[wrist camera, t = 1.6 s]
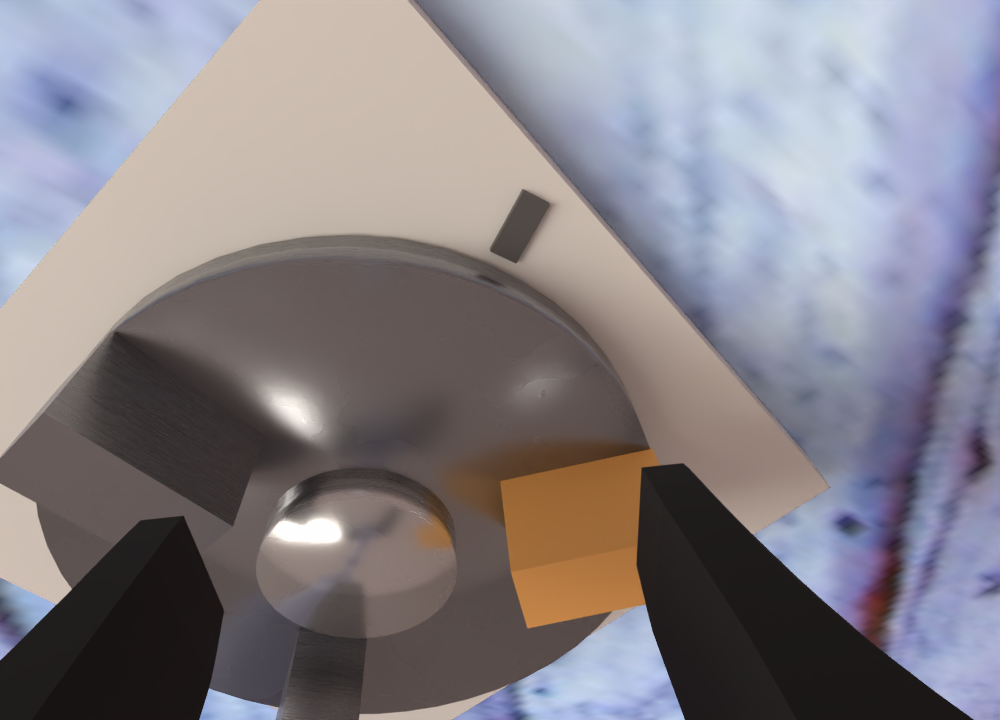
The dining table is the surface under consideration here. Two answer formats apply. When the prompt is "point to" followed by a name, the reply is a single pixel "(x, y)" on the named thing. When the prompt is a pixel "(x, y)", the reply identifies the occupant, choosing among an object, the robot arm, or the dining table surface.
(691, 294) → the dining table surface
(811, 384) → the dining table surface
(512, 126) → the plate
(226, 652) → the rotary indexing table
